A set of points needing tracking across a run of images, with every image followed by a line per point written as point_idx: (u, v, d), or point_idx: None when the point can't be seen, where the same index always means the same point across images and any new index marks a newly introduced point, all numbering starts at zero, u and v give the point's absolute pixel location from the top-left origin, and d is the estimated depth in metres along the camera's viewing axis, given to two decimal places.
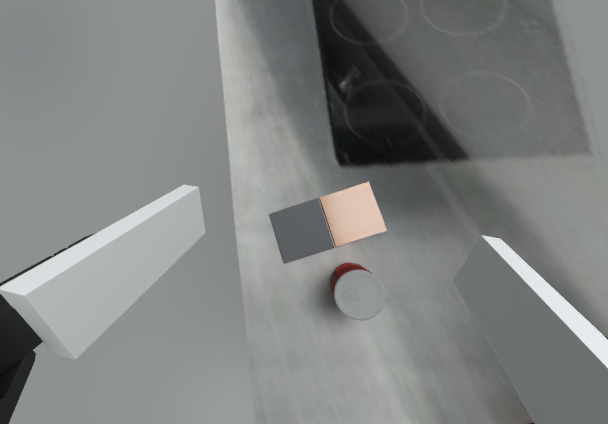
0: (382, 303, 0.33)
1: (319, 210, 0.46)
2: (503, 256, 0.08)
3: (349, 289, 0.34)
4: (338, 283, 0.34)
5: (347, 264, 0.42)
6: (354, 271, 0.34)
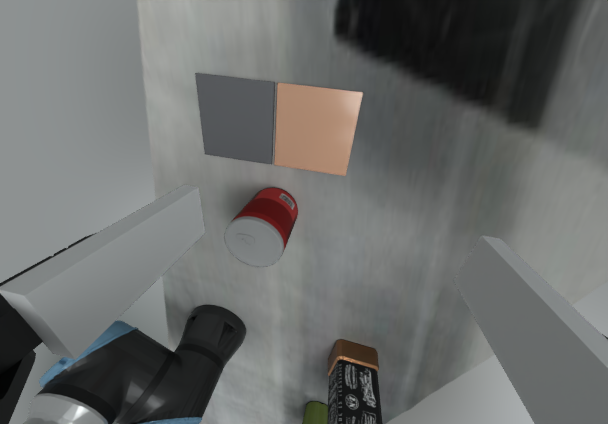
0: (274, 261, 0.29)
1: (270, 104, 0.29)
2: (503, 255, 0.08)
3: (244, 234, 0.28)
4: (232, 224, 0.27)
5: (274, 194, 0.33)
6: (256, 221, 0.26)
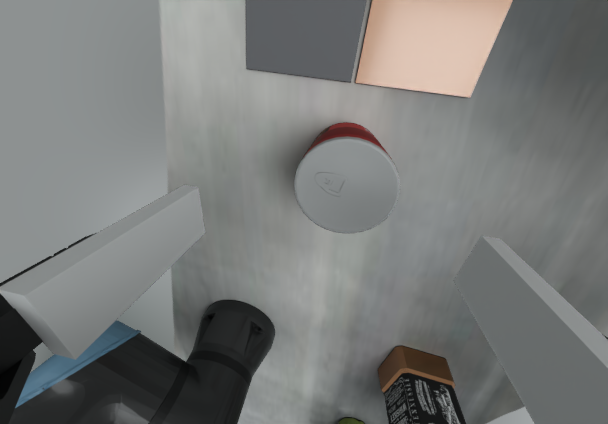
0: (375, 222, 0.17)
1: None
2: (503, 256, 0.08)
3: (330, 172, 0.16)
4: (316, 151, 0.15)
5: (356, 126, 0.21)
6: (362, 142, 0.14)
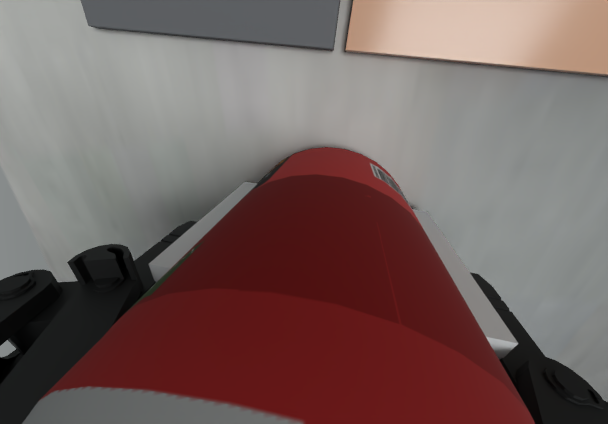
0: None
1: None
2: (421, 223, 0.10)
3: None
4: None
5: (348, 162, 0.08)
6: None
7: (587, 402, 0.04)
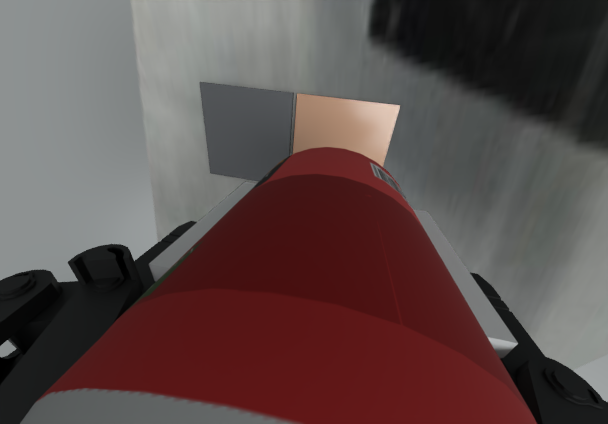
0: None
1: (287, 118, 0.25)
2: (421, 223, 0.10)
3: None
4: None
5: (348, 162, 0.08)
6: None
7: (587, 402, 0.04)
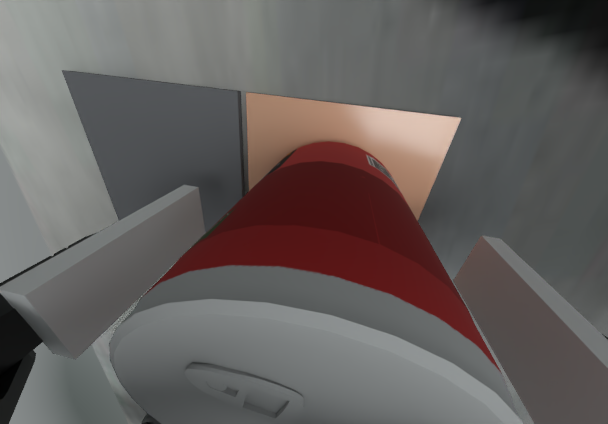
0: None
1: (232, 140, 0.13)
2: (503, 255, 0.08)
3: (235, 373, 0.04)
4: (141, 325, 0.03)
5: (347, 153, 0.09)
6: (352, 325, 0.03)
7: None
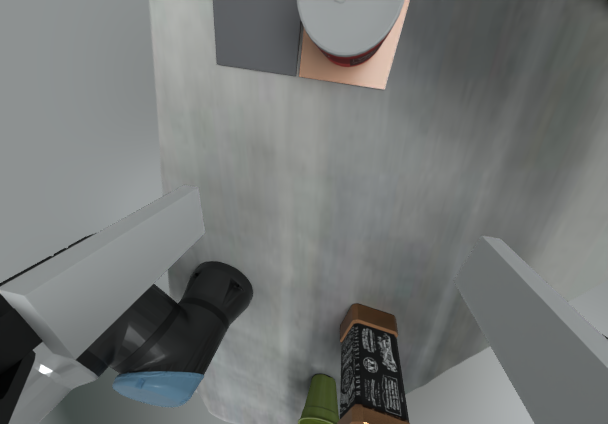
0: (380, 34, 0.16)
1: None
2: (503, 256, 0.08)
3: None
4: None
5: None
6: None
7: None
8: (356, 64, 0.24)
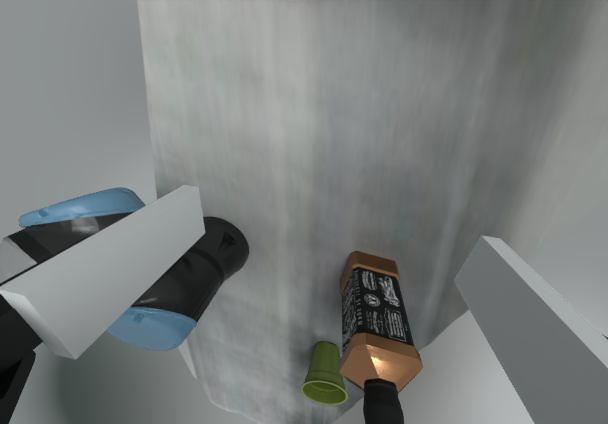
0: None
1: None
2: (503, 256, 0.08)
3: None
4: None
5: None
6: None
7: None
8: None
